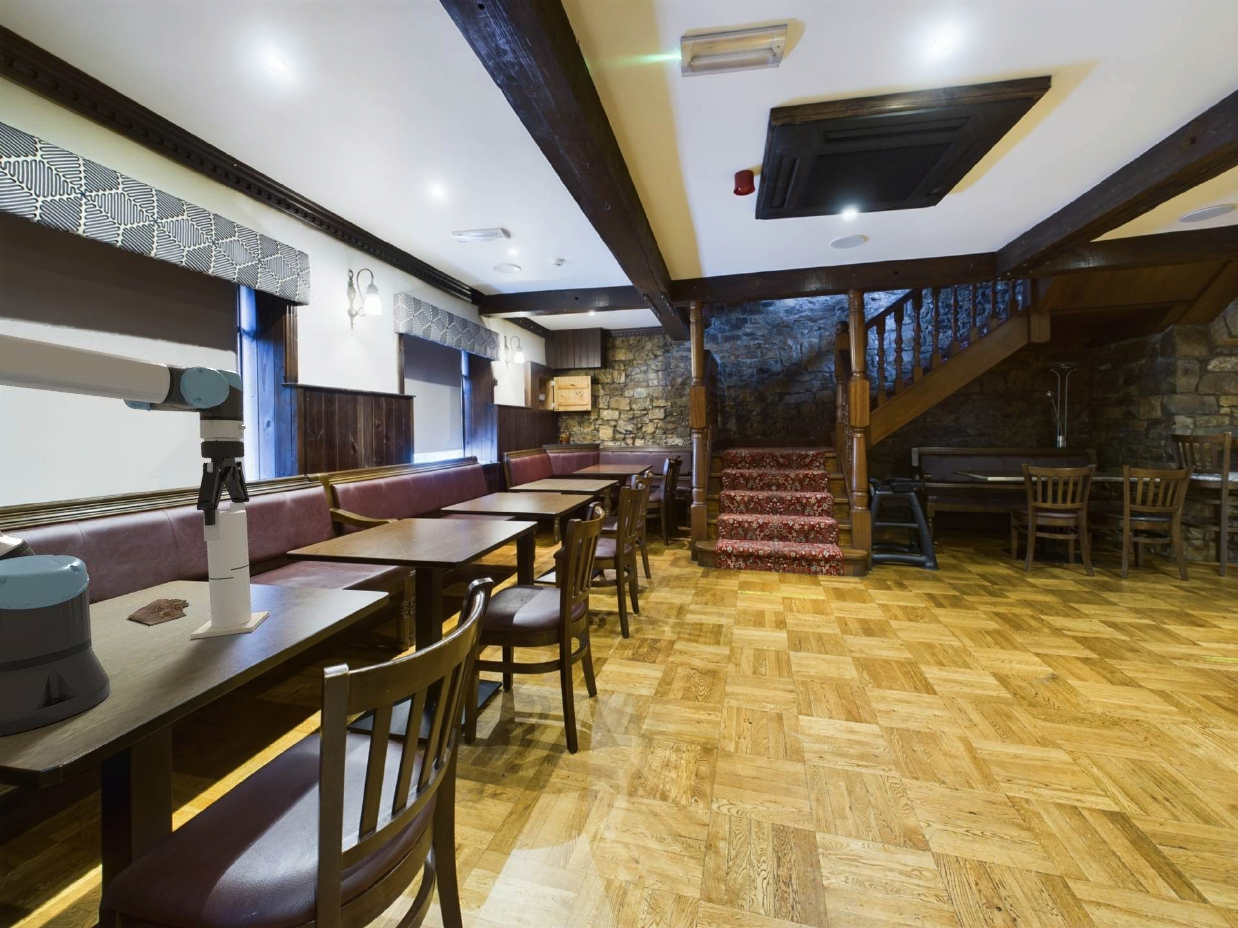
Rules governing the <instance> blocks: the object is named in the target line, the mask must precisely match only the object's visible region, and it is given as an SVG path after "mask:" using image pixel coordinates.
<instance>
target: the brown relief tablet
mask: <svg viewBox="0 0 1238 928" xmlns="http://www.w3.org/2000/svg"><path fill="white" fill-rule="evenodd" d="M189 604H190V602H187V600H186V599H180V598H174V599H173V598H172V599H167V598H159V599H158V598H157V599H156V600H154V601H152V602H150V603H149V604H146V605H145V606H142V607H141V608H139V609H138V610H136V611H134V612H133V613H131V614H130V615H128V617H127V618H128V619H131V620H134V621H137V622H141V623H144V624H147V625H149V626H150V627H152V626H156V625H160V624H164V623H168V622H169V623H170V621H174V620H177V619H180V618H182V617H185V616H187V614H186V613H185V612H184V609H185V608H186V607H187V606H188V605H189ZM189 606H190V605H189Z"/></svg>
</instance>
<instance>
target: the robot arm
mask: <svg viewBox="0 0 1238 928" xmlns="http://www.w3.org/2000/svg"><path fill="white" fill-rule="evenodd" d="M242 384H243V383H242V378H241V375H240V374H239V373H238V372H236V371H233V370H226V369H215V368H212V367H206V366H192V367H186V366H182V365H177V364H169V363H163V362H159V361H155V360H154V361H153V360H147V359H142V358H138V357H131V356H124V355H119V354H115V353H109V352H103V351H98V350H97V351H96V350H91V349H85V348H81V347H77V346H76V347H75V346H69V345H63V344H59V343H52V342H49V341H40V340H36V339H30V338H26V337H25V338H24V337H18V336H14V335H8V334H4V333H3V334H2V333H0V386H6V387H13V388H14V387H15V388H24V389H32V390H33V389H34V390H40V391H41V390H42V391H50V392H58V393H66V394H74V395H83V396H84V395H85V396H91V397H92V396H93V397H103V398H110V399H117V400H123V402H124V404H125V405H126V406H127V407H128V408H130V409H133V410H142V411H148V412H150V411H157V412H159V411H161V412H162V411H163V412H186V413H187V412H188V413H198V414H199V437H200V439H203V441H201V442H200V452H201V453H200V455H201V458H203V459H211V460H210V462H203V464H202V476H201V482H200V486H199V492H198V498H197V502H196V503H197V504H196V510H197V511H202V519H203V521H202V522H203V542H207V541H214V540H221V519H220V511H221V509H220V508H218V507H219V505H220V500H221V498H222V495H223V491H224V487H225V488H226V490H227V494H228V496H229V498H230V500H231V502H230V503H229V511H230V510H245V511H246V503H249V502H250V497H249V491H248V488H247V484H246V479H245V475H244V471H243V462H242V460H237V461H236V458H237V459H238V458H239V459H240V458H244V457H245V443H244V442H243V441H241V440H242V439H243V438H244V430H246V428H247V427H246V425H245V424H244V419H243V417H244V415H243V394H244V391H243V385H242ZM87 570H88V569H87V565H86V563H85V562H84V561H83V560H82V559H80V558H78V557H75V556H72V555H65V554H64V555H63V554H60V555H55V554H39V555H37V554H36V553H35V552H34V550H33V549H32V547H30V545H29V544H28V543H27V542H26V540H25V539H24V538H23V537H19V536H12V535H7V534H5V533H3V532H2V531H1V530H0V737H1V736H8V735H12V734H16V733H22V732H26V731H28V730H32V729H33V730H34V729H37V728H40V727H43V726H47V725H50V724H53V723H55V722H56V723H57V722H59V721H63V720H65V719H67V718H70V717H72V716H75V715H77V714H80V713H83V712H84V711H86V710H88V709H90V708H93V706H96V705H97V704H99V703H101V702H102V701H104V700H105V699H106V698H107V697H109V695H110V694H111V684H110V676H109V675H108V674H107V672H106V669H104V666H103V665H102V663H101V662H100V659H99V658H98V656H97V655H96V653H95V651H94V650H93V649H94V648H93V644H92V628H91V626H92V625H91V610H90V595H89V594H90V593H89V583H90V576H89V574H88V572H87Z"/></svg>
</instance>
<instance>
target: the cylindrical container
mask: <svg viewBox="0 0 1238 928" xmlns="http://www.w3.org/2000/svg"><path fill="white" fill-rule="evenodd" d="M220 519H221V540H214V541H206V547H207V549H206V551H207V565H208V567H207V568H208V584H209V585H208V586H209V589H208V590H209V605H210V620H211V625H212V627H213V628H226V627H232V626H237V625H240V624H244V623H246V622H248V621H250V620H251V619H252V617H251V613H252V601H251V581H250V579H251V578H250V561H249V545H248V544H249V540H248V523H247V522H248V521H247V510H246V509H245V510H230V509H229V510H220Z"/></svg>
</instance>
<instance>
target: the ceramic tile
mask: <svg viewBox="0 0 1238 928" xmlns="http://www.w3.org/2000/svg"><path fill="white" fill-rule="evenodd" d="M251 617H252V619H251V620H250V621H248V622H246V623H244V624H240V625H237V626H232V627H226V628H213V627H212V625H211V619H209V620H208V621H206V623H204V624H203V625H201V626H200V627H198V628H196V630H195V631H193V632H191V634H190V640H194V639H202V638H210V637H218V636H225V635H227V636H228V635H236V634H244V633H250V632H251V633H252V632H254V630H256V629H257V628H258V626H260V625H261V624H262V623H264V622H265V620H266V619H267V618H268V617H270V610H268V611H266V610H265V611H259V612H258V611H257V612H251Z"/></svg>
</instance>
